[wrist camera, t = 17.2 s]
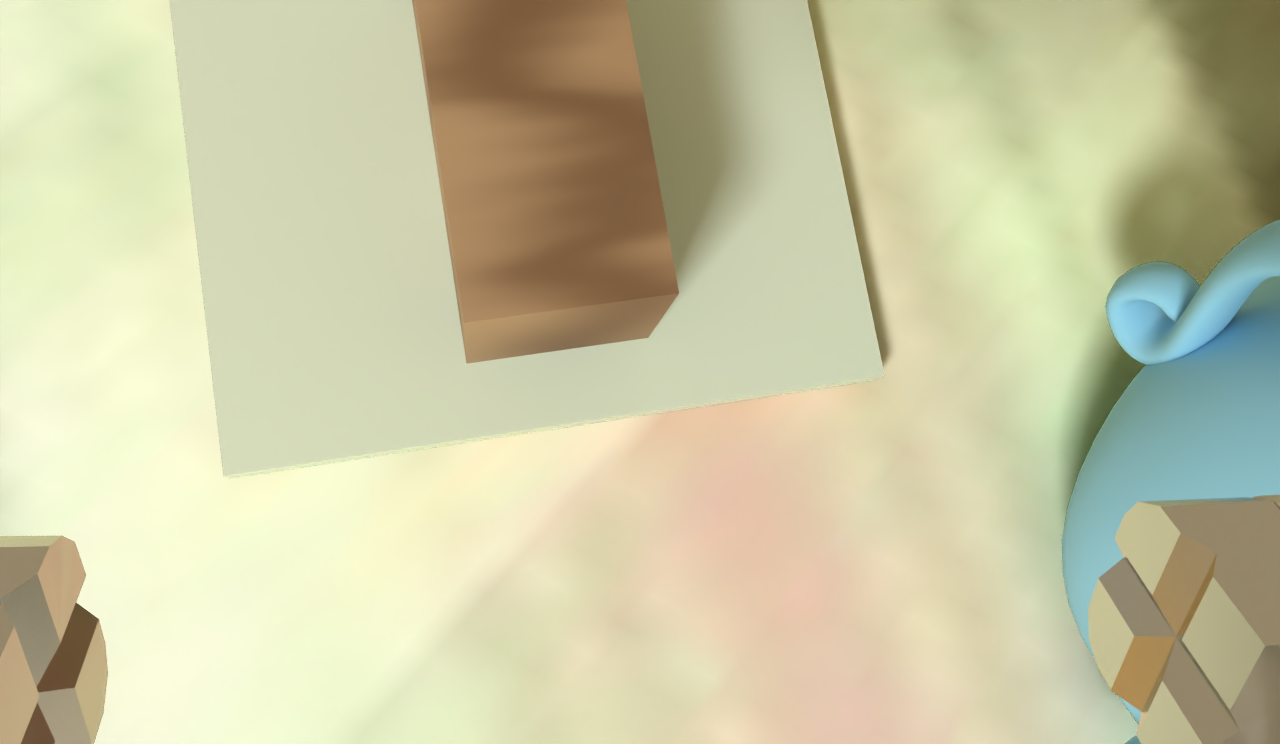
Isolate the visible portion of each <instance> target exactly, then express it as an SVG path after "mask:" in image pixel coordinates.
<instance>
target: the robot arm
mask: <svg viewBox="0 0 1280 744" xmlns="http://www.w3.org/2000/svg"><path fill="white" fill-rule="evenodd" d="M1115 540H1116V542H1117V544H1118V546H1119V548H1120V550H1121V552H1122V554H1123V556H1124V558H1122V559H1121V560H1120V561H1119V562H1117V563H1116V564H1115V565H1114V566H1113V567H1111V568H1110V569H1109V570H1108V571H1106V572H1105V573H1104V574H1103V575H1102V576H1100V577H1099V578H1098V581H1097V584H1096V586H1095V589H1094V592H1093V595H1092V598H1091V601H1090V604H1089V607H1088V622H1089V641H1090V645H1091V648H1092V651H1093V655H1094V658H1095V661H1096V664H1097V667H1098V668H1099V670H1100V672H1101V674H1102V676H1103V677H1104V679H1105V681H1106V683H1107V685H1108V686H1109V688H1110V690H1111V691H1112V692H1114V693H1115V694H1117V695H1118V696H1119V697H1121V698H1122V699H1124V700H1125V701H1127V702H1128V703H1129V704H1131V705H1132V706H1134V707H1135V708H1137V709H1138V710H1139V711H1141V717H1140V722H1139V727H1138V732H1137V737H1138V739H1139V740H1140V742H1141V744H1280V495H1264V496H1255V497H1252V498H1247V497H1237V498H1212V499H1187V500H1162V501H1138V502H1137V503H1136V504H1135V505H1134V506H1133V507H1132V508H1131V509H1130V510H1129V511H1128V512H1127V513H1126V514H1125V515H1124V517H1123V519H1122V521H1121V524H1120V526H1119V529H1118V531H1117V533H1116V536H1115ZM85 577H86V573H85V570H84V567H83V564H82V562H81V559H80V556H79V553H78V550H77V547H76V544H75V542H74V541H72V540H70V539H68V538H66V537H63V536H0V744H94V742H95V738H96V735H97V732H98V729H99V725H100V722H101V719H102V716H103V712H104V703H105V694H106V685H107V677H108V668H107V657H106V645H105V640H104V637H103V633H102V629H101V625H100V622H99V619H98V618H96V617H95V616H94V615H92V614H91V613H90V612H88V611H87V610H86V609H84V608H83V607H81V606H80V605H79V604H77V603H76V601H77V598H78V596H79V593H80V590H81V588H82V585H83V583H84V580H85Z"/></svg>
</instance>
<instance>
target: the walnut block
mask: <svg viewBox="0 0 1280 744" xmlns="http://www.w3.org/2000/svg"><path fill="white" fill-rule="evenodd" d="M412 4H413V10H414V17H415V24H416V30H417V37H418V44H419V50H420V57H421V64H422V70H423V77H424V84H425V90H426V97H427V104H428V110H429V117H430V124H431V130H432V137H433V144H434V151H435V157H436V164H437V171H438V177H439V184H440V191H441V197H442V204H443V211H444V217H445V224H446V231H447V237H448V244H449V251H450V257H451V264H452V271H453V277H454V284H455V291H456V297H457V304H458V311H459V318H460V324H461V331H462V338H463V344H464V351H465V358H466V364H468V363H475V362H482V361H489V360H496V359H503V358H510V357H517V356H524V355H531V354H538V353H545V352H552V351H559V350H566V349H573V348H580V347H587V346H594V345H601V344H608V343H615V342H622V341H630V340H637V339H644V338H648V337H649V336H650V334H651V333H652V332H653V330H654V329H655V327H656V326H657V324H658V323H659V322H660V320H661V319H662V317H663V316H664V314H665V313H666V312H667V310H668V309H669V307H670V306H671V304H672V303H673V301H674V300H675V299H676V297H677V296H678V294H679V290H678V284H677V279H676V273H675V268H674V262H673V257H672V251H671V246H670V240H669V235H668V229H667V224H666V218H665V212H664V207H663V201H662V196H661V190H660V185H659V179H658V174H657V168H656V163H655V157H654V152H653V146H652V141H651V135H650V130H649V124H648V119H647V113H646V108H645V102H644V96H643V91H642V85H641V80H640V74H639V69H638V63H637V58H636V52H635V47H634V41H633V36H632V30H631V25H630V19H629V14H628V8H627V3H626V0H412Z"/></svg>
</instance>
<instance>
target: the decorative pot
mask: <svg viewBox="0 0 1280 744" xmlns="http://www.w3.org/2000/svg"><path fill="white" fill-rule="evenodd" d="M1106 312H1107V318H1108V321H1109V325H1110V328H1111V330H1112V332H1113V334H1114V336H1115V338H1116V340H1117V341H1118V343H1119V344H1120V346H1121V347H1122V348H1123V349H1124V350H1125V351H1126V353H1128V354H1129V355H1130V356H1131V357H1132V358H1134V359H1135V360H1137V361H1138V362H1140V363H1143V364H1145V366H1144V368H1143V369H1142V370H1141V371H1140V372H1139V373H1138V374H1137V375H1136V376H1135V377H1134V379H1133V380H1132V381H1131V383H1130V384H1129V386H1128V387H1127V388H1126V390H1125V391H1124V393H1123V394H1122V395H1121V397H1120V398H1119V400H1118V401H1117V402H1116V404H1115V405H1114V406H1113V408H1112V410H1111V412H1110V413H1109V415H1108V417H1107V418H1106V420H1105V422H1104V424H1103V425H1102V427H1101V429H1100V430H1099V432H1098V434H1097V436H1096V437H1095V439H1094V441H1093V444H1092V446H1091V448H1090V450H1089V452H1088V454H1087V456H1086V459H1085V461H1084V463H1083V465H1082V467H1081V469H1080V472H1079V474H1078V477H1077V480H1076V483H1075V486H1074V489H1073V492H1072V495H1071V498H1070V501H1069V504H1068V508H1067V512H1066V518H1065V525H1064V531H1063V538H1062V563H1063V577H1064V582H1065V587H1066V593H1067V598H1068V603H1069V606H1070V608H1071V611H1072V614H1073V616H1074V619H1075V622H1076V624H1077V627H1078V630H1079V632H1080V635H1081V637H1082V639H1083V640H1084V642H1085V644H1086V646H1087V647H1088V649H1089V651H1090V652H1091V654H1092V656H1093V658H1094V655H1093V651H1092V648H1091V645H1090V641H1089V622H1088V607H1089V604H1090V601H1091V598H1092V595H1093V592H1094V589H1095V586H1096V584H1097V581H1098V578H1099V577H1100V576H1102V575H1103V574H1104V573H1105V572H1106V571H1108V570H1109V569H1110V568H1111V567H1113V566H1114V565H1115V564H1116V563H1117V562H1119V561H1120V560H1121V559H1122V558H1124V556H1123V554H1122V552H1121V550H1120V548H1119V546H1118V544H1117V542H1116V540H1115V536H1116V533H1117V531H1118V529H1119V526H1120V524H1121V521H1122V519H1123V517H1124V515H1125V514H1126V513H1127V512H1128V511H1129V510H1130V509H1131V508H1132V507H1133V506H1134V505H1135V504H1136V503H1137V502H1138V501H1162V500H1187V499H1212V498H1237V497H1247V498H1252V497H1255V496H1264V495H1280V219H1279V220H1276V221H1274V222H1272V223H1270V224H1268V225H1266V226H1264V227H1262V228H1260V229H1258V230H1257V231H1255V232H1254V233H1252V234H1250V235H1249V236H1248V237H1246V238H1245V239H1244V240H1242V241H1241V242H1240V243H1239V244H1238V245H1236V246H1235V247H1234V248H1233V249H1232V250H1231V251H1230V252H1229V253H1228V254H1227V255H1226V256H1225V257H1224V258H1223V259H1222V260H1221V261H1220V262H1219V263H1218V265H1217V266H1216V267H1215V268H1214V269H1213V271H1212V272H1211V273H1210V275H1209V276H1208V277H1207V278H1206V280H1205V281H1204V283H1203V284H1202V285H1201V287H1200V286H1199V284H1198V283H1197V282H1196V281H1195V279H1194V278H1193V277H1192V276H1191V275H1190V274H1189V273H1188V272H1186V271H1185V270H1183V269H1182V268H1180V267H1178V266H1176V265H1174V264H1171V263H1167V262H1149V263H1145V264H1142V265H1139V266H1137V267H1134V268H1132V269H1130V270H1129V271H1128V272H1126V273H1125V274H1124V275H1122V276H1121V277H1120V278H1118V280H1117V281H1116V282H1115V284H1114V285H1113V287H1112V289H1111V290H1110V292H1109V294H1108V297H1107V302H1106ZM1094 659H1095V658H1094ZM1118 697H1119V696H1118ZM1119 698H1120V699H1121V701H1122V702H1123V704H1124V705H1125V706H1126V708H1127V709H1128V711H1129V712H1130V714H1131V715H1132V716H1133V718H1134V719H1135V721H1136V722H1137V723H1138V724H1139V722H1140V717H1141V711H1139V710H1138V709H1137V708H1135V707H1134V706H1132V705H1131V704H1129V703H1128V702H1127V701H1125V700H1124V699H1122V698H1121V697H1119ZM1125 744H1141V742H1140V740H1139V739H1138V737H1137V736H1135V737H1133V738H1132V739H1130V740H1129V741H1127V742H1126V743H1125Z"/></svg>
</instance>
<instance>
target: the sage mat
mask: <svg viewBox="0 0 1280 744" xmlns="http://www.w3.org/2000/svg"><path fill="white" fill-rule="evenodd" d="M626 3H627V8H628V14H629V19H630V25H631V30H632V36H633V41H634V47H635V52H636V58H637V63H638V69H639V74H640V80H641V85H642V91H643V96H644V102H645V108H646V113H647V119H648V124H649V130H650V135H651V141H652V146H653V152H654V157H655V163H656V168H657V174H658V179H659V185H660V190H661V196H662V201H663V207H664V212H665V218H666V224H667V229H668V235H669V240H670V246H671V251H672V257H673V262H674V268H675V273H676V279H677V284H678V290H679V294H678V296H677V297H676V299H675V300H674V301H673V303H672V304H671V306H670V307H669V309H668V310H667V312H666V313H665V314H664V316H663V317H662V319H661V320H660V322H659V323H658V324H657V326H656V327H655V329H654V330H653V332H652V333H651V334H650V336H649V337H648V338H644V339H637V340H630V341H622V342H615V343H608V344H601V345H594V346H587V347H580V348H573V349H566V350H559V351H552V352H545V353H538V354H531V355H524V356H517V357H510V358H503V359H496V360H489V361H482V362H475V363H468V364H466V358H465V351H464V344H463V338H462V331H461V324H460V318H459V311H458V304H457V297H456V291H455V284H454V277H453V271H452V264H451V257H450V251H449V244H448V237H447V231H446V224H445V217H444V211H443V204H442V197H441V191H440V184H439V177H438V171H437V164H436V157H435V151H434V144H433V137H432V130H431V124H430V117H429V110H428V104H427V97H426V90H425V84H424V77H423V70H422V64H421V57H420V50H419V44H418V37H417V30H416V24H415V17H414V10H413V4H412V0H170V9H171V18H172V27H173V35H174V44H175V53H176V62H177V71H178V80H179V88H180V97H181V106H182V115H183V124H184V133H185V141H186V150H187V159H188V168H189V177H190V186H191V194H192V203H193V212H194V221H195V230H196V239H197V247H198V256H199V265H200V274H201V283H202V292H203V300H204V309H205V318H206V327H207V336H208V345H209V353H210V362H211V371H212V380H213V389H214V398H215V406H216V415H217V424H218V433H219V442H220V451H221V459H222V468H223V476H225V477H227V478H237V477H244V476H250V475H257V474H263V473H270V472H276V471H283V470H289V469H296V468H303V467H309V466H316V465H322V464H329V463H335V462H342V461H348V460H355V459H362V458H368V457H375V456H381V455H388V454H394V453H401V452H407V451H414V450H420V449H427V448H434V447H440V446H447V445H453V444H460V443H466V442H473V441H479V440H486V439H493V438H499V437H506V436H512V435H519V434H525V433H532V432H538V431H545V430H551V429H558V428H565V427H571V426H578V425H584V424H591V423H597V422H604V421H610V420H617V419H624V418H630V417H637V416H643V415H650V414H656V413H663V412H669V411H676V410H682V409H689V408H696V407H702V406H709V405H715V404H722V403H728V402H735V401H741V400H748V399H755V398H761V397H768V396H774V395H781V394H787V393H794V392H800V391H807V390H814V389H820V388H827V387H833V386H840V385H846V384H853V383H859V382H866V381H872V380H876V379H878V378H880V377H882V376H884V370H883V365H882V360H881V355H880V350H879V346H878V341H877V336H876V331H875V326H874V321H873V317H872V312H871V307H870V302H869V297H868V292H867V287H866V283H865V278H864V273H863V268H862V263H861V258H860V254H859V249H858V244H857V239H856V234H855V229H854V225H853V220H852V215H851V210H850V205H849V200H848V195H847V191H846V186H845V181H844V176H843V171H842V166H841V162H840V157H839V152H838V147H837V142H836V137H835V132H834V128H833V123H832V118H831V113H830V108H829V103H828V99H827V94H826V89H825V84H824V79H823V74H822V70H821V65H820V60H819V55H818V50H817V45H816V40H815V36H814V31H813V26H812V21H811V16H810V11H809V7H808V2H807V0H626Z"/></svg>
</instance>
